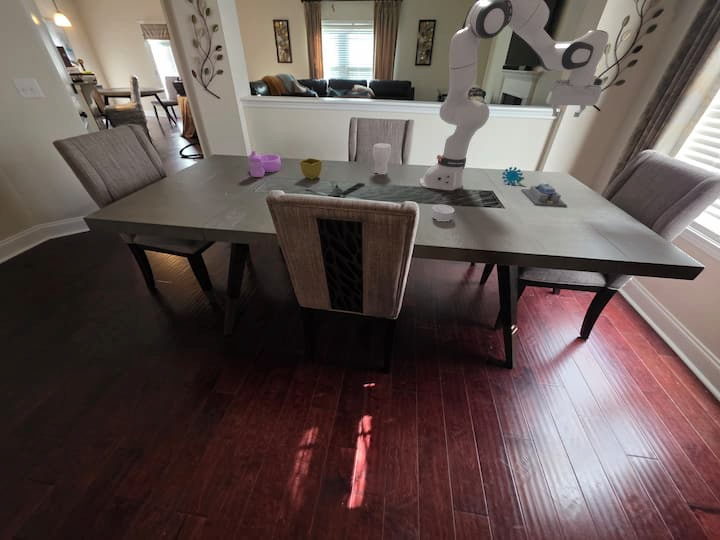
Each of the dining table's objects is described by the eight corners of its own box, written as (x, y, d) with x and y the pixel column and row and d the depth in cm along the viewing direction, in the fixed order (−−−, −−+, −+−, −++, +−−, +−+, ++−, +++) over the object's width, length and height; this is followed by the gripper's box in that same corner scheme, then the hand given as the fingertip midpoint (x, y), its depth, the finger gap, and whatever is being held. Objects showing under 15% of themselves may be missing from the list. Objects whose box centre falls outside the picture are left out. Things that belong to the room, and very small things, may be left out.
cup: (372, 169, 169) (373, 142, 160) (390, 170, 168) (392, 143, 159) (370, 175, 160) (371, 147, 151) (389, 176, 159) (391, 148, 150)
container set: (261, 164, 174) (257, 141, 166) (285, 166, 172) (281, 143, 164) (242, 178, 154) (236, 152, 146) (268, 179, 152) (264, 154, 145)
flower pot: (323, 177, 157) (322, 160, 151) (313, 181, 151) (311, 164, 145) (311, 174, 160) (309, 157, 155) (301, 178, 154) (299, 161, 149)
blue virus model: (499, 180, 151) (506, 163, 152) (496, 185, 157) (503, 169, 157) (520, 186, 148) (528, 170, 149) (517, 191, 154) (524, 175, 154)
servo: (543, 200, 132) (548, 188, 129) (534, 192, 140) (539, 180, 137) (552, 200, 132) (557, 188, 128) (543, 192, 140) (548, 181, 136)
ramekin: (429, 213, 122) (430, 203, 119) (449, 213, 121) (451, 204, 119) (432, 222, 114) (434, 213, 112) (454, 223, 114) (456, 213, 112)
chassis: (534, 205, 130) (537, 197, 127) (520, 190, 144) (523, 183, 142) (566, 206, 129) (570, 198, 126) (549, 192, 143) (552, 184, 141)
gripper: (557, 80, 118) (544, 117, 126) (609, 81, 117) (592, 118, 125) (550, 79, 123) (538, 114, 131) (600, 80, 122) (584, 116, 130)
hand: (565, 116), depth 128 cm, fingers open, 8 cm apart
